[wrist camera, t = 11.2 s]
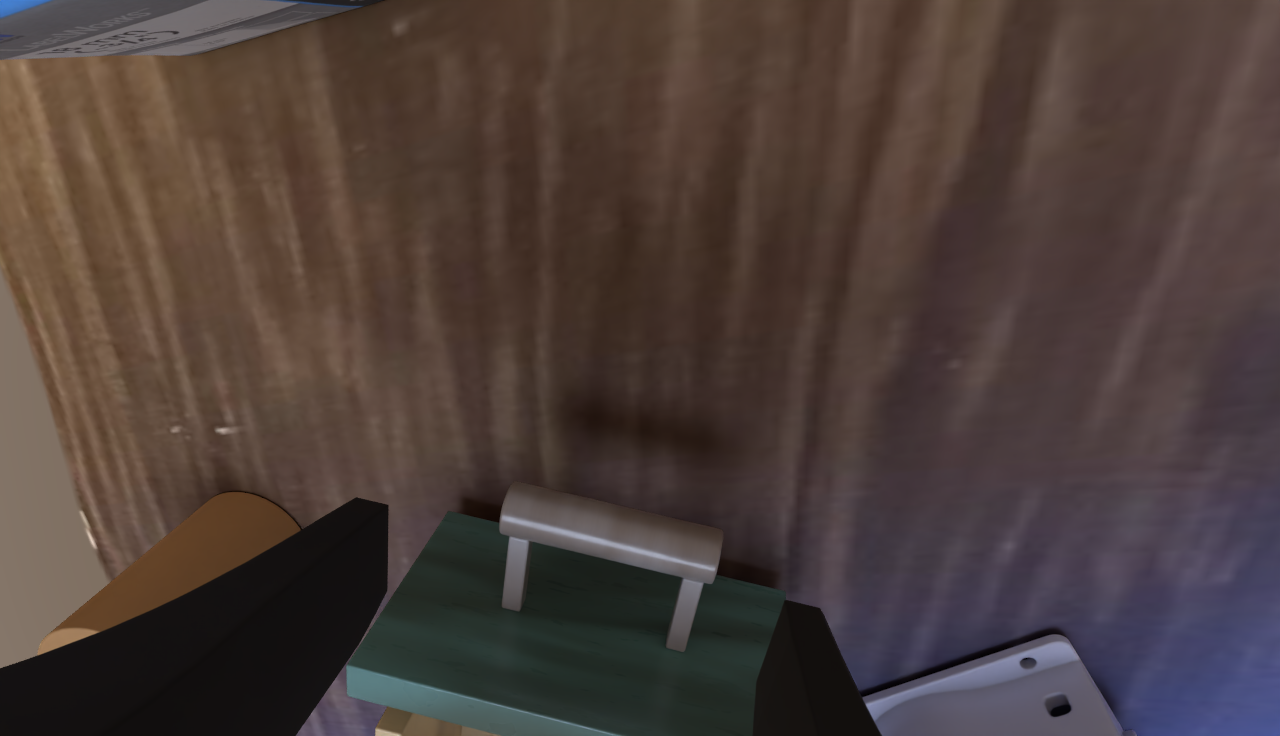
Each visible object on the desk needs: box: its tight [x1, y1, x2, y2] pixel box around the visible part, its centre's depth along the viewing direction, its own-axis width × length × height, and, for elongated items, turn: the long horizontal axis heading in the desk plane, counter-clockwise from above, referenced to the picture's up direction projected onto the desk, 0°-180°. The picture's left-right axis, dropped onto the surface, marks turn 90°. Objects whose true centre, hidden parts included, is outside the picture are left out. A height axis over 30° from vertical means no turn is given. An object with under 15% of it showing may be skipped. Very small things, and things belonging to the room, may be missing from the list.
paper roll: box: [38, 492, 301, 655], centre depth 25 cm, size 5×5×7 cm
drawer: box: [346, 481, 786, 736], centre depth 23 cm, size 18×12×7 cm
